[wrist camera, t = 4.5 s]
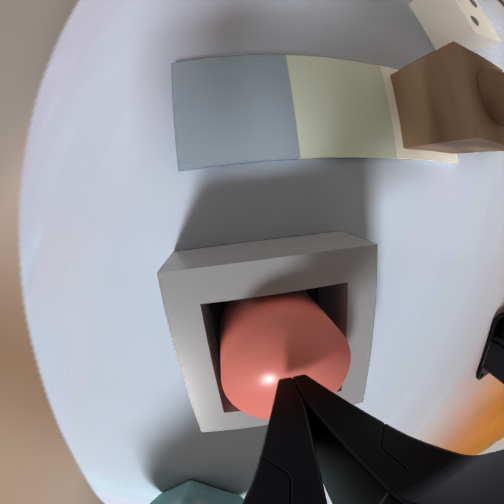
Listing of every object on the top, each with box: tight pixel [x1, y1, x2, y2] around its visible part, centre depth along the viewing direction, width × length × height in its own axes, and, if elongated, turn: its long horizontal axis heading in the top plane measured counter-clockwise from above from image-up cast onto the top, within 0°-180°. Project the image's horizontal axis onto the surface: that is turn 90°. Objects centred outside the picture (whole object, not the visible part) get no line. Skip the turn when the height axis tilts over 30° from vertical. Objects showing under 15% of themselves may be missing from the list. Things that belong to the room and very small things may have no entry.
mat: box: [171, 55, 459, 171], centre depth 11 cm, size 15×5×1 cm, turn 96°
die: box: [408, 0, 501, 52], centre depth 8 cm, size 4×4×4 cm
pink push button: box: [220, 290, 351, 419], centre depth 10 cm, size 4×4×4 cm
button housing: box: [157, 231, 377, 432], centre depth 11 cm, size 7×7×3 cm
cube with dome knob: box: [390, 41, 504, 154], centre depth 8 cm, size 4×4×6 cm
